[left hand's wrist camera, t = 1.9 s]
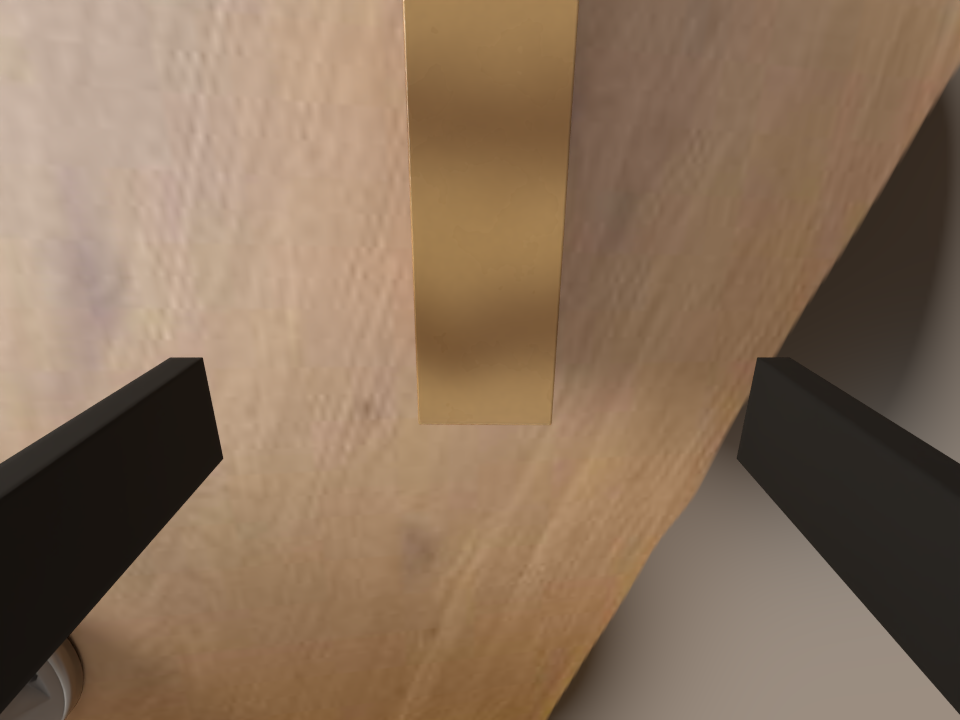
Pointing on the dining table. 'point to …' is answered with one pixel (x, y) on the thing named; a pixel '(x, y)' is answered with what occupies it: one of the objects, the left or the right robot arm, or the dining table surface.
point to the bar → (488, 202)
